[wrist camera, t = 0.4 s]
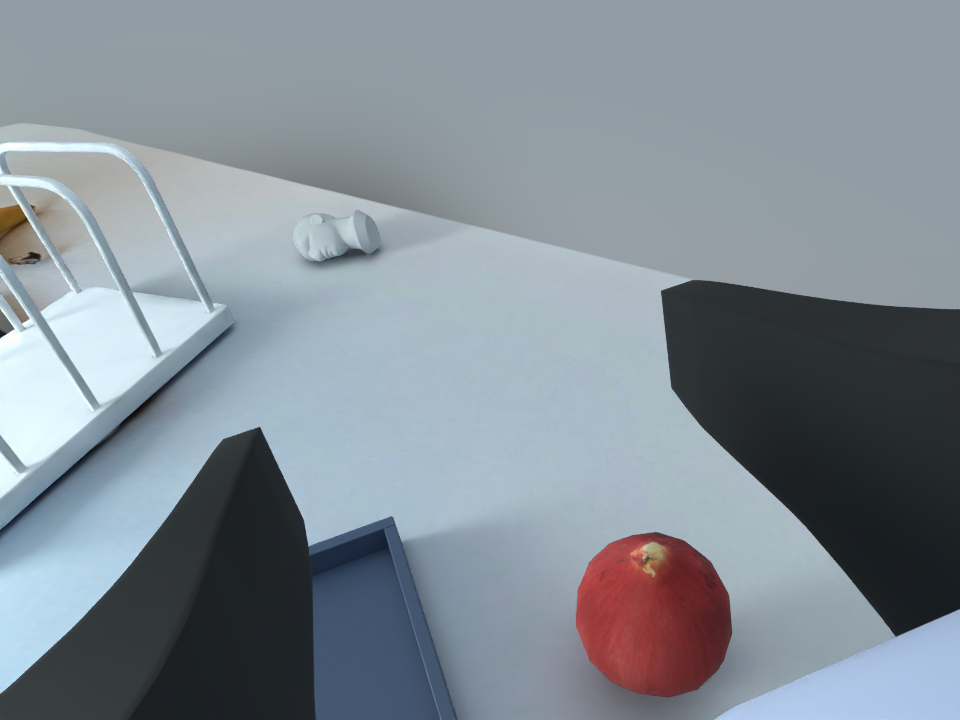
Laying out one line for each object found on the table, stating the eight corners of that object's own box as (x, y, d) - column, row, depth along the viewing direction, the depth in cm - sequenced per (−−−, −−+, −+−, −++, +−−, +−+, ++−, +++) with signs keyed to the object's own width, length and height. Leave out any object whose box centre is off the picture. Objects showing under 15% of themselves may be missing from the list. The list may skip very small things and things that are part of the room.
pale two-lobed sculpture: (296, 274, 63) (319, 233, 65) (370, 279, 60) (392, 236, 62) (272, 241, 59) (298, 199, 62) (349, 244, 56) (373, 201, 59)
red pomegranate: (611, 582, 32) (606, 463, 27) (740, 631, 29) (759, 508, 24) (558, 695, 28) (542, 579, 23) (701, 762, 25) (715, 648, 21)
